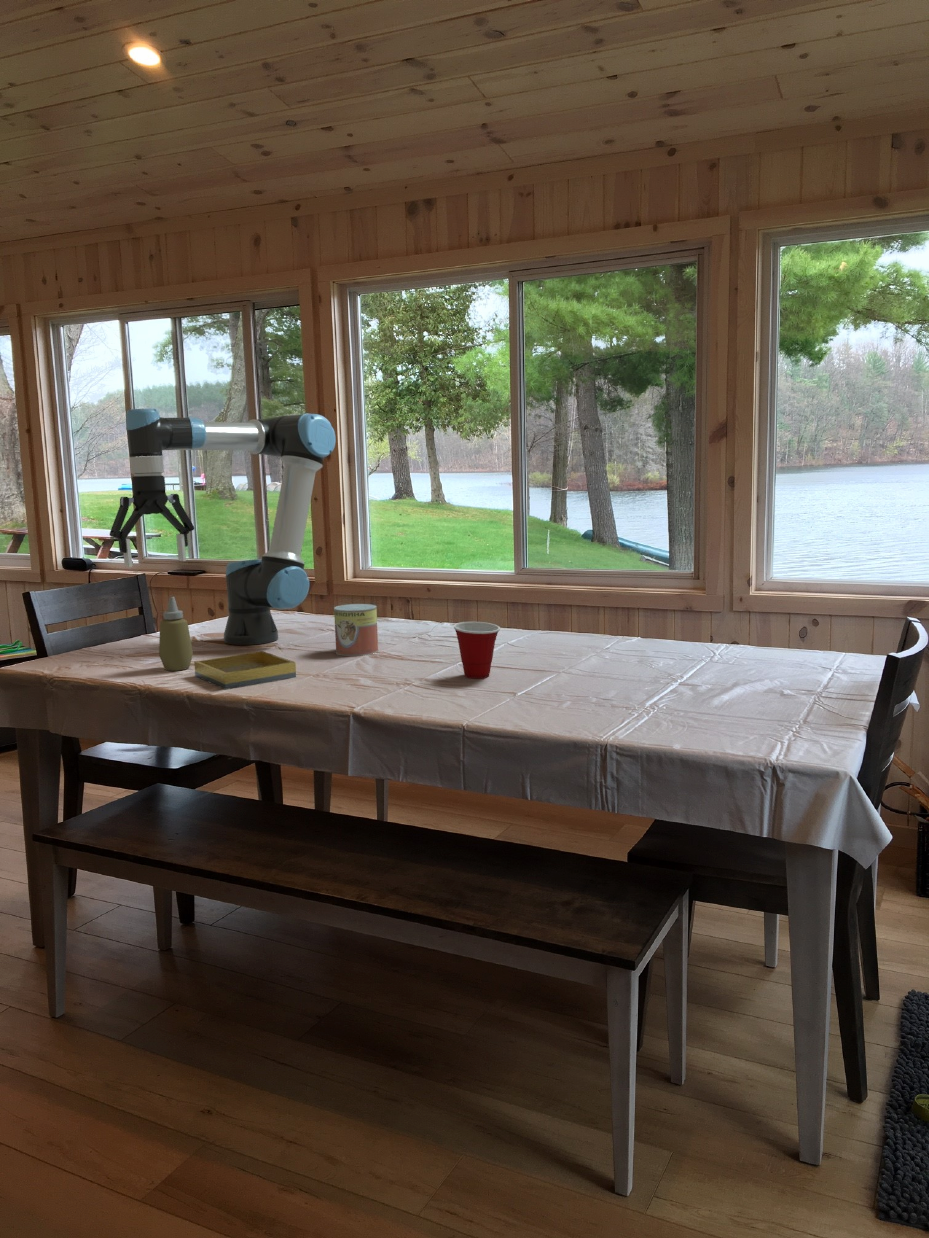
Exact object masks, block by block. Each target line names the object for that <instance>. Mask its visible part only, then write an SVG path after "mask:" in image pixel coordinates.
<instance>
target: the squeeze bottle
mask: <svg viewBox="0 0 929 1238" xmlns="http://www.w3.org/2000/svg"><path fill="white" fill-rule="evenodd" d="M177 605H178V604H177V601H176V598H175V596H169V597H168V604H167V611H166V610H165V611H163V612H162V616H163V617H162V618H163V620H162V621H160V623H159V643H158V644H159V647H158V648H159V649H158V650H159V651H158V657H159V659H160V661H161V663H162V666H163V668H164V670H165V671H171V672H175V671H176V672H178V671H184V670H187V669H189V668H190V667H191V662H192V659H193V654H194V651H193V646H192V645H193V644H192V641H191V635H190V630H189V625H188V620H187V619H185V618H184V613H183V610H179V607H178V606H177Z"/></svg>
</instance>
